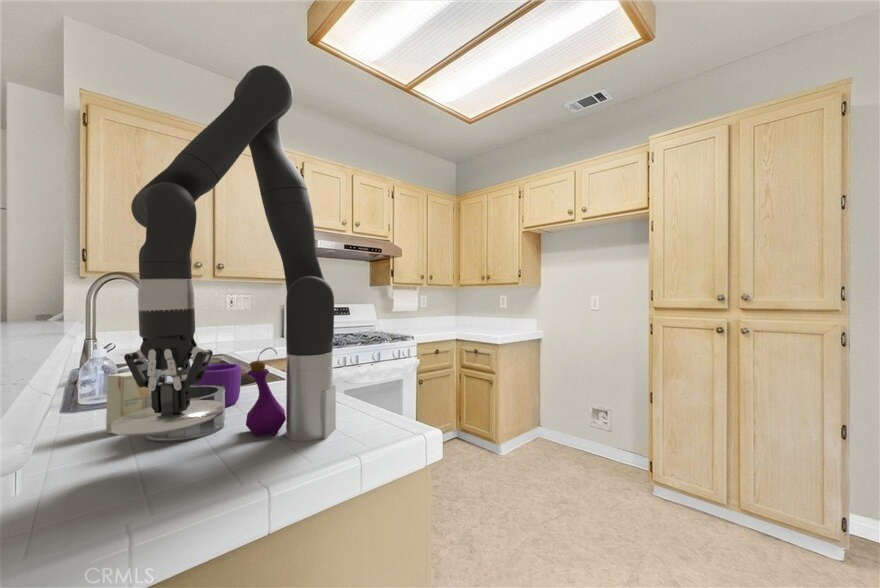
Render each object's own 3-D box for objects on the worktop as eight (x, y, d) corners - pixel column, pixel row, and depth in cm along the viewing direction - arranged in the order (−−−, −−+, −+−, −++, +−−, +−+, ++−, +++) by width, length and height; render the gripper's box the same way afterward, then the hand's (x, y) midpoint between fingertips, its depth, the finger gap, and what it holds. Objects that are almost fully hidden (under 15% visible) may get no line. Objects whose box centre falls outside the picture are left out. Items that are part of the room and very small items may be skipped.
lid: (239, 408, 70) (238, 371, 70) (190, 440, 56) (189, 394, 55) (156, 411, 70) (155, 374, 70) (84, 445, 55) (82, 398, 55)
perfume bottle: (245, 440, 76) (245, 350, 76) (247, 428, 82) (247, 346, 82) (286, 435, 79) (286, 348, 79) (284, 423, 86) (284, 344, 86)
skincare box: (121, 435, 78) (121, 376, 78) (104, 434, 79) (105, 375, 79) (151, 425, 85) (151, 370, 85) (135, 423, 86) (135, 369, 86)
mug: (246, 404, 101) (246, 367, 101) (196, 414, 93) (197, 373, 93) (227, 392, 113) (227, 359, 113) (182, 399, 105) (182, 363, 105)
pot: (246, 414, 92) (246, 381, 92) (181, 451, 70) (181, 408, 70) (190, 413, 93) (190, 381, 93) (109, 450, 71) (109, 407, 71)
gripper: (222, 305, 66) (226, 403, 66) (143, 307, 66) (147, 405, 67) (194, 307, 59) (198, 418, 59) (105, 309, 59) (109, 420, 59)
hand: (171, 411), depth 63 cm, fingers closed on lid, 2 cm apart
